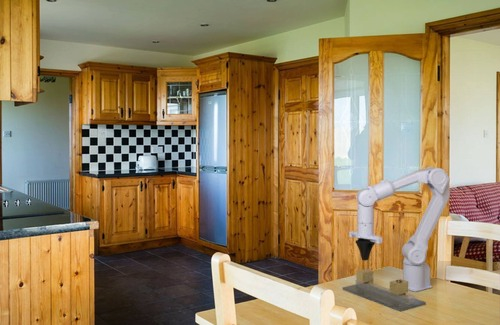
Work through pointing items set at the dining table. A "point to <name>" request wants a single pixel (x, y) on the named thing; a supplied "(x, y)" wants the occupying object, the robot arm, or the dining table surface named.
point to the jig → (381, 293)
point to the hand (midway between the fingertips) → (365, 259)
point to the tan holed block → (399, 287)
